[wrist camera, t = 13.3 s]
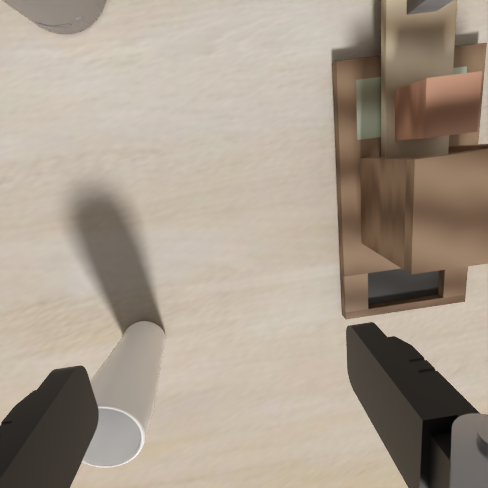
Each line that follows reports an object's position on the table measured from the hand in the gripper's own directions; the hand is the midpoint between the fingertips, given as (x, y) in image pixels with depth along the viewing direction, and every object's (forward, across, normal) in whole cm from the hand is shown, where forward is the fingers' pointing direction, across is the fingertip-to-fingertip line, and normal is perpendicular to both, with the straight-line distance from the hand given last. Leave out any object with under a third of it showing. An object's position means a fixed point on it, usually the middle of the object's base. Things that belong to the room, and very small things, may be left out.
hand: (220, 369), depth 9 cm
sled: (+26, -22, -10) cm, 36 cm away
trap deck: (+28, -22, +1) cm, 36 cm away
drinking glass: (+28, +12, +15) cm, 34 cm away
